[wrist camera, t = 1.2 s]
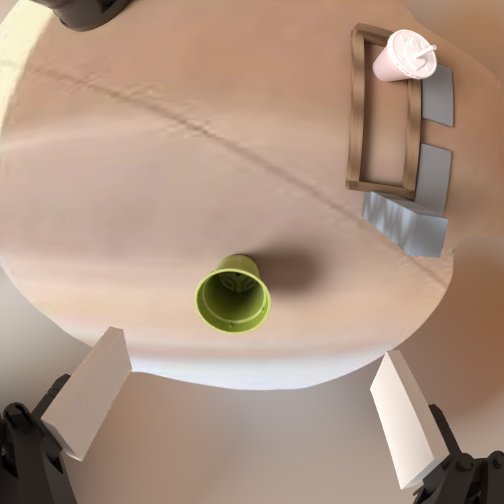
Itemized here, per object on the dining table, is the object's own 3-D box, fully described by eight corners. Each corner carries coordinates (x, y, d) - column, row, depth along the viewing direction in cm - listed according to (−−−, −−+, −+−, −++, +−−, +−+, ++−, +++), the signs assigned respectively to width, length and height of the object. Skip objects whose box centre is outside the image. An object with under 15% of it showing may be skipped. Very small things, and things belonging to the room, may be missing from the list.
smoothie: (362, 84, 31) (408, 58, 18) (363, 45, 28) (404, 7, 15) (403, 95, 31) (459, 80, 17) (403, 57, 28) (454, 30, 15)
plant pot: (284, 271, 41) (287, 302, 33) (242, 311, 44) (237, 345, 36) (235, 230, 39) (226, 252, 31) (195, 275, 42) (180, 304, 34)
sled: (351, 31, 27) (389, -16, 14) (412, 49, 27) (468, 20, 13) (342, 214, 37) (381, 253, 23) (403, 221, 37) (459, 259, 23)
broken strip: (418, 58, 28) (421, 56, 27) (448, 70, 28) (451, 69, 27) (410, 208, 36) (413, 210, 35) (440, 213, 36) (443, 214, 35)
